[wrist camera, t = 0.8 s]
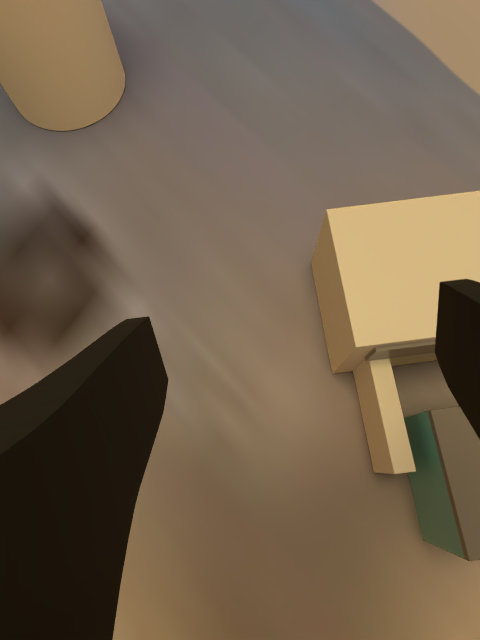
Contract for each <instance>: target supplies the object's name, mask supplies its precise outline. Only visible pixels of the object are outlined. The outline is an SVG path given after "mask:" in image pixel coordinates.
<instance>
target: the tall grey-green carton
mask: <svg viewBox="0 0 480 640" xmlns="http://www.w3.org/2000/svg"><path fill="white" fill-rule="evenodd" d="M404 422H405V426H406V430H407V435H408V439H409V443H410V447H411V452H412V456H413V460H414V464H415V469H416V471H415V472H408V474H409V479H410V483H411V487H412V492H413V496H414V500H415V505H416V509H417V513H418V518H419V522H420V526H421V531H422V535H423V539H424V541H426V542H428V543H431V544H433V545H435V546H437V547H439V548H442V549H444V550H446V551H448V552H450V553H453V554H455V555H457V556H459V557H462V558H464V559H466V560H468V561H475V560H480V439H479V438H478V436H477V434H476V433H475V431H474V429H473V428H472V426H471V424H470V423H469V421H468V419H467V418H466V416H465V414H464V413H463V411H462V409H461V408H460V406H459V407H451V408H444V409H436V410H430V411H426V412H423V413H419V414H416V415H413V416H409V417H406V418H404Z"/></svg>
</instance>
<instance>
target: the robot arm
mask: <svg viewBox="0 0 480 640" xmlns="http://www.w3.org/2000/svg"><path fill="white" fill-rule="evenodd" d="M435 355H436V358H437V360H438V363H439V366H440V368H441V371H442V373H443V375H444V378H445V380H446V383H447V385H448V387H449V389H450V391H451V392H452V394H453V396H454V397H455V399H456V401H457V403H458V404H459V406H460V408H461V409H462V411H463V413H464V414H465V416H466V418H467V419H468V421H469V423H470V424H471V426H472V428H473V429H474V431H475V433H476V434H477V436H478V438H479V439H480V282H477V281H474V280H470V279H460V280H451V281H443V282H440V284H439V298H438V312H437V326H436V340H435ZM167 385H168V377H167V374H166V370H165V367H164V364H163V361H162V357H161V354H160V351H159V347H158V344H157V341H156V338H155V334H154V331H153V328H152V325H151V321H150V318H149V317H141V318H133V319H126V320H124V321H123V322H121V323H119V324H118V325H116V326H115V327H113V328H112V329H111V330H109V331H108V332H106V333H105V334H104V335H102V336H101V337H100V338H98V339H97V340H96V341H95V342H93V343H92V344H91V345H89V346H88V347H87V348H85V349H84V350H83V351H81V352H80V353H79V354H77V355H76V356H75V357H73V358H72V359H71V360H69V361H68V362H66V363H65V364H63V365H62V366H61V367H59V368H58V369H56V370H55V371H53V372H52V373H51V374H49V375H48V376H46V377H45V378H43V379H42V380H41V381H39V382H38V383H36V384H35V385H33V386H31V387H30V388H28V389H27V390H25V391H23V392H22V393H20V394H19V395H17V396H15V397H13V398H12V399H10V400H8V401H7V402H5V403H3V404H1V405H0V640H112V638H113V631H114V624H115V617H116V611H117V604H118V597H119V590H120V584H121V578H122V572H123V566H124V561H125V555H126V549H127V543H128V538H129V533H130V528H131V523H132V518H133V513H134V508H135V503H136V500H137V496H138V492H139V488H140V485H141V482H142V479H143V475H144V472H145V469H146V466H147V463H148V460H149V457H150V453H151V450H152V447H153V444H154V441H155V438H156V434H157V431H158V428H159V425H160V421H161V418H162V415H163V410H164V405H165V399H166V392H167Z"/></svg>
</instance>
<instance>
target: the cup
mask: <svg viewBox="0 0 480 640" xmlns="http://www.w3.org/2000/svg"><path fill="white" fill-rule="evenodd" d="M0 83H1V85H2V86H3V88H4V90H5V91H6V93H7V94H8V96H9V97H10V99H11V100H12V102H13V103H14V105H15V106H16V108H17V109H18V111H19V112H20V113H21V115H22V116H23V117H24V118H25V119H26V120H28V121H29V122H30V123H32V124H34V125H36V126H38V127H41V128H44V129H48V130H54V131H69V130H75V129H80V128H83V127H86V126H89V125H91V124H93V123H95V122H97V121H99V120H101V119H102V118H104V117H105V116H106V115H107V114H109V113H110V112H111V111H112V110H113V109H114V108H115V106H116V105H117V104H118V102H119V101H120V99H121V97H122V95H123V92H124V88H125V73H124V69H123V66H122V63H121V60H120V57H119V54H118V51H117V48H116V45H115V42H114V39H113V36H112V33H111V30H110V27H109V23H108V20H107V17H106V14H105V11H104V8H103V5H102V2H101V0H0Z"/></svg>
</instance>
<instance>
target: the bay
mask: <svg viewBox="0 0 480 640" xmlns="http://www.w3.org/2000/svg"><path fill="white" fill-rule="evenodd" d="M311 266H312V272H313V277H314V282H315V287H316V292H317V298H318V303H319V308H320V313H321V319H322V324H323V329H324V334H325V339H326V345H327V350H328V355H329V360H330V365H331V371H332V374H334V373H342V372H349V371H353V374H354V379H355V384H356V388H357V393H358V398H359V403H360V408H361V413H362V417H363V422H364V427H365V432H366V437H367V441H368V446H369V451H370V456H371V461H372V466H373V470H374V472H375V473H387V474H399V473H407V472H415V471H416V469H415V464H414V460H413V456H412V452H411V447H410V443H409V439H408V435H407V430H406V426H405V422H404V418H403V414H402V409H401V405H400V401H399V397H398V392H397V388H396V384H395V380H394V376H393V371H392V367H391V366H397V365H404V364H412V363H420V362H428V361H436V360H437V358H436V355H435V340H436V326H437V312H438V298H439V284H440V282H443V281H451V280H460V279H470V280H474V281H477V282H480V191H475V192H467V193H458V194H450V195H442V196H434V197H426V198H417V199H409V200H401V201H393V202H385V203H376V204H368V205H360V206H352V207H344V208H336V209H327V210H326V213H325V217H324V220H323V224H322V227H321V230H320V234H319V237H318V241H317V244H316V247H315V251H314V254H313V257H312V261H311Z"/></svg>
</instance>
